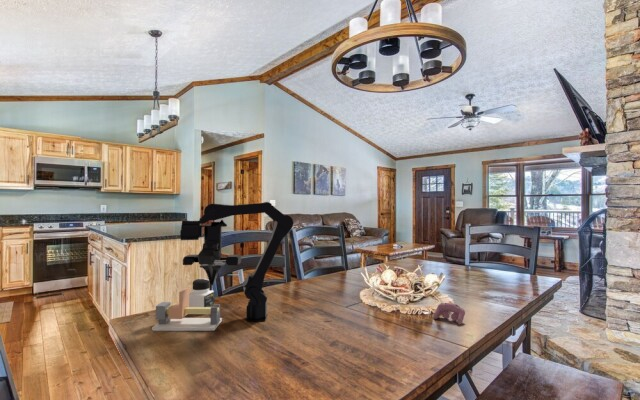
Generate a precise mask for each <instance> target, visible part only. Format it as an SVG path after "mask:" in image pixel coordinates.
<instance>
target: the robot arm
mask: <svg viewBox="0 0 640 400" xmlns="http://www.w3.org/2000/svg"><path fill="white" fill-rule="evenodd" d="M251 214H252V215H253V214H254V215H255V214H266V216H268V217H269V218H270V219H271V220H273V222H274V224H273V227H272V231H271V236H270V238H269V241H268V243H267V244H266V247H265V248H264V250H263V253H262V254H261V257H260V259H259V261H258V263H257V265H256V267H255V270H254V271H253V272H252V273H250V272H248V273H247V274H246V277H245V280H244V281H243V282H242V283H243V285H242V286H243V293H244V296H245V298H246V299H248V302H247V305H246V309H245V310H246V311H245V312H246V314H245V315H246V321H247V322H265V321H267V317H268V315H269V313H268V297H267V295H266V293H265V291H264V290H263V286H264V283H265V277H266V274H267V272H268V270H269V269H270V266H271V263H272V261H273V259H274V257H275V256H276V253H277V252H278V249H279V247H280V246H281V243H282V241H283V240H284V238H285V237H287V236H288V234H289V232H290V231H291V230H292V229H293V226H294V220H293V218H292V217H291V216H290V215H288V214H284V213H282V212H281V211H280V210H278V209H277V208H276V207H275V206H274V205H272V203H271V202H269V201H264V202H258V203H257V202H255V203H246V204H245V203H243V204H224V203H223V204H221V203H210V204H208V205H206V206H205V208H204V211H203V214H202V216H201V217H200V218H199V219H198V220H187V219H184V220H183V219H182V220H181V227H180V230H179V231H180V233H179V234H180V236H179V237H180V241H199V239H200V238H202V237H204V238H203V243H202V249H201V250H200V251H199V253H198V254H187V255H186V256H184V257H183V258H182V266H192V265H193V264H194V263H198V264H199V268H202V269H203V270H204V272H205V273H206V276H207V278H208V280H209V285H210V286H214V285H215V282H216V280H217V278H218V275H219V273H220V270H221V268H222V267H224V266H225V265H228V266H239V265H240V264H241V263H242V256H241V254H229V255H227V256H223V253H222V245H223V241H222V228H227V227H228V225H227V223H226V222H225V220H223V219H225V218H228V217H232V216H240V215H241V216H242V215H251ZM218 220H220V221H218ZM210 221H211V222H210ZM209 222H210V224H206V223H209ZM203 229H204V230H203ZM203 231H204V232H203Z"/></svg>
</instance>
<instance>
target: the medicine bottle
mask: <svg viewBox="0 0 640 400" xmlns="http://www.w3.org/2000/svg"><path fill="white" fill-rule="evenodd" d="M214 293H215V290H210V281H209V279H207V278H197V279H195V280H193V281H192V292H189V307H213V305H214V304H215V294H214Z"/></svg>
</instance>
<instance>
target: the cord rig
mask: <svg viewBox="0 0 640 400" xmlns="http://www.w3.org/2000/svg"><path fill="white" fill-rule="evenodd" d="M176 303H177V302H176ZM176 303H172V302H171V301H161V302H160V303H158V304H157V305H156V306H155V320H158V322H157V323H156V324H155V325H154V326H152V328H151V330H152V331H155V332H156V331H158V332H159V331H167V332H169V331H172V332H173V331H175V332H176V331H177V332H178V331H179V332H181V331H182V332H183V331H184V332H186V331H189V332H190V331H193V332H194V331H195V332H199V331H201V332H202V331H204V332H206V331H208V332H209V331H210V332H211V331H213V332H214V331H215V330H217V328H218V327H219V325H221V322H222V321H223V317H221V304H220V303H219V304H216V303H214V305H213V307H185V308H184V314H187V315H210V317H184V318H183V319H170V308H171V307H172V306H173V305H175V304H176Z"/></svg>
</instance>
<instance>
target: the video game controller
mask: <svg viewBox="0 0 640 400" xmlns="http://www.w3.org/2000/svg"><path fill="white" fill-rule="evenodd" d="M449 312H450V313H451V315H450V313H449ZM465 315H466V311H465V309H464V308H463V307H462V306H460V305H458V304H455V303H452V302H441V303H439V304H438V305H437V307H436V309H435V311H434V313H433V318H434V319H435V320H437V319H439V317H440V316H442V318H443V319H444V320H447V319H449V318H451V321H452V320H453V322H457V325H459V326H460V325H462V323H463V321H464V318H465Z"/></svg>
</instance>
